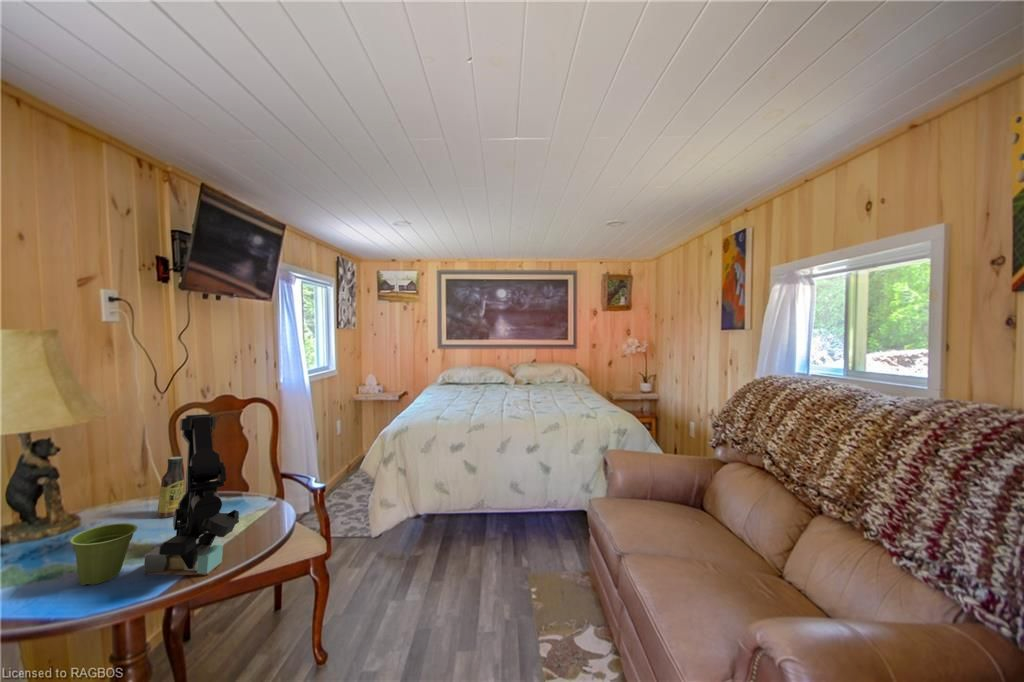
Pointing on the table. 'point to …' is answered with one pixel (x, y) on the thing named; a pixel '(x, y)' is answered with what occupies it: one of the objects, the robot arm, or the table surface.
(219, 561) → the turquoise rectangular block
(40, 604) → the table surface
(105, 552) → the plant pot
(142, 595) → the table surface
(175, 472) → the sauce bottle
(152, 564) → the dark grey cube
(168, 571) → the board
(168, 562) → the cream rectangular block
